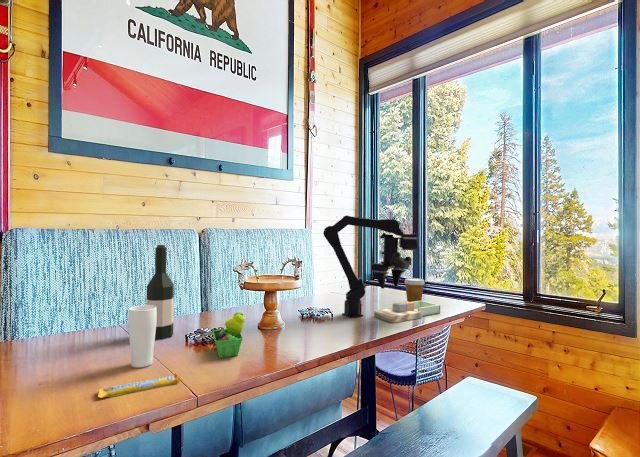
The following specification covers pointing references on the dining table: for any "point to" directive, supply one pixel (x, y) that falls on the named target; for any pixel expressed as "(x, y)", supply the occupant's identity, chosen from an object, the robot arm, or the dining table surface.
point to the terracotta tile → (409, 305)
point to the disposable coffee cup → (414, 289)
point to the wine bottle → (161, 295)
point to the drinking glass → (142, 334)
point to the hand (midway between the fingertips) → (389, 287)
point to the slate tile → (399, 307)
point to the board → (397, 315)
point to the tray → (426, 307)
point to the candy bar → (138, 386)
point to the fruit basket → (230, 336)
